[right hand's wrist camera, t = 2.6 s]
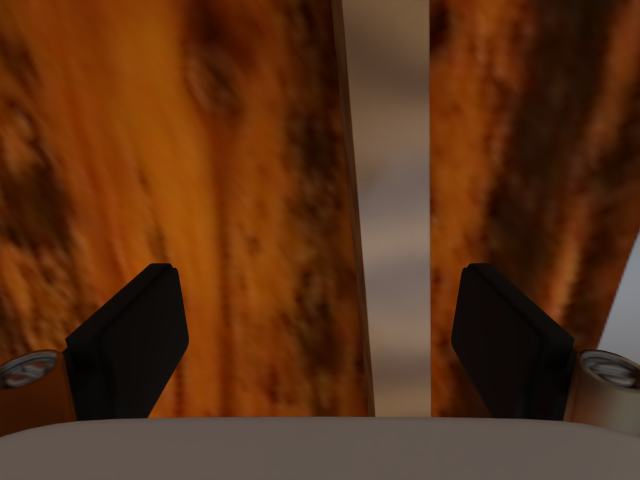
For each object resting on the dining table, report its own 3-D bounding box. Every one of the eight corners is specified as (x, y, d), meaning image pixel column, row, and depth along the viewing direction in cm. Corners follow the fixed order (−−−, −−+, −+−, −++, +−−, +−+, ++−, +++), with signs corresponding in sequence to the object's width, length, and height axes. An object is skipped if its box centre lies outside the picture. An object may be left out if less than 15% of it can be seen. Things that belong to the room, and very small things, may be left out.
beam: (325, -57, 22) (331, -130, 16) (394, -66, 22) (429, -145, 16) (377, 518, 43) (389, 593, 36) (413, 515, 43) (431, 590, 36)
